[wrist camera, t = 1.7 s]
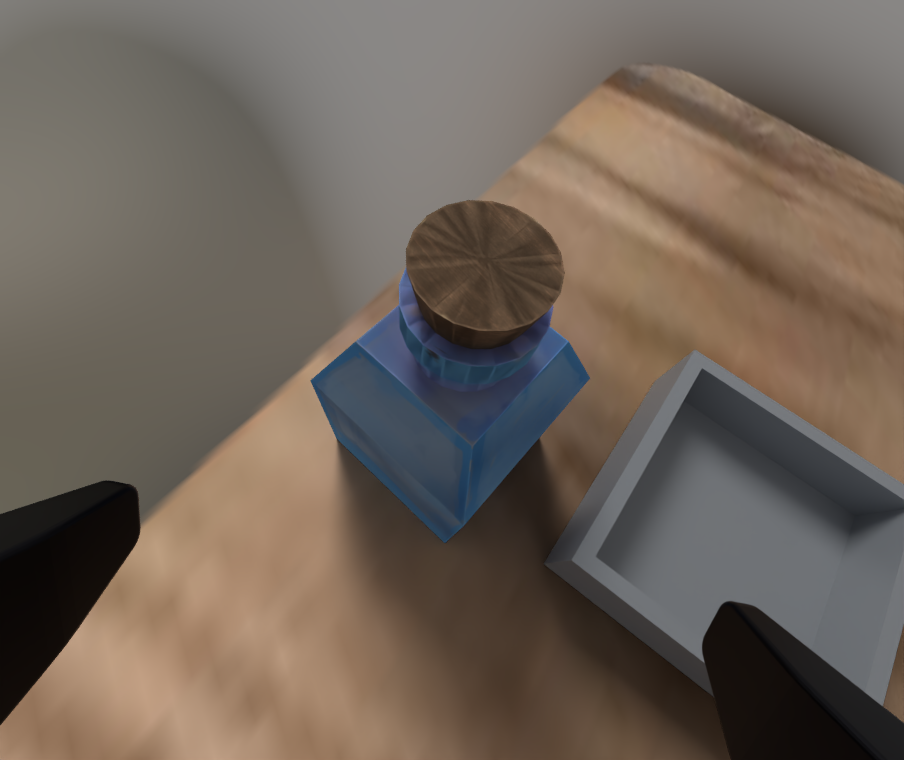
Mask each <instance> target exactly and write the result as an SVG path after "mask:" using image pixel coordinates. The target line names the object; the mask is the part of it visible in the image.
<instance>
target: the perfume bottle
mask: <svg viewBox="0 0 904 760" xmlns="http://www.w3.org/2000/svg"><path fill="white" fill-rule="evenodd" d="M564 274H565V272H564V267H563V261H562V256H561V252H560V250H559V248H558V247H557V245H556V243H555V241H554V240H553V238H552V236H551V234H550V233H549V232H548V231H547V230H546V229H544V228H543V227H542V226H541V225H540V224H539V223H538V222H537V221H536V220H535V219H534V218H532V217H530V216H529V215H527V214H525V213H523V212H521V211H520V210H518V209H516V208H514V207H511V206H507V205H504V204H500V203H496V202H493V201H474V200H471V201H470V200H467V201H463V202H459V203H454V204H449V205H446V206H444V207H442V208H440V209H438V210H437V211H435V212H433V213H431V214H429V215H427V216H426V218H425V219H424V220H423V221H422V222H421V223H420V224H419V225H418V226H417V227H416V228H415V230H414V231H413V233H412V236H411V238H410V241H409V243H408V246H407V248H406V268H405V271H404V274H403V276H402V279H401V281H400V284H399V305H398V306H397V307H396V308H395V309H394V310H392V311H391V312H390V313H389V314H388V315H386V316H385V317H384V318H383V319H382V320H381V321H379V322H378V323H377V324H376V325H375V326H373V327H372V328H371V329H370V330H369V331H367V332H366V333H365V334H364V335H363V336H362V337H360V338H359V339H358V340H357V341H356V342H354V343H353V344H352V345H351V346H350V347H349V348H348V349H346V350H345V351H344V352H343V353H342V354H341V355H339V356H338V357H337V358H336V359H335V360H334V361H332V362H331V363H330V364H329V365H328V366H327V367H326V368H324V369H323V370H322V371H321V372H320V373H319V374H317V375H316V376H315V377H314V378H313V379H312V380H311V383H312V385H313V387H314V389H315V392H316V394H317V396H318V398H319V401H320V403H321V405H322V407H323V409H324V412H325V414H326V416H327V418H328V420H329V423H330V425H331V427H332V429H333V432H334V434H335V436H336V438H337V439H338V440H339V441H340V442H341V443H342V444H343V445H344V446H345V447H346V448H347V449H348V450H349V451H350V452H351V453H352V454H353V455H354V456H355V457H356V458H357V459H358V460H359V461H360V462H361V463H362V464H363V465H364V466H365V467H367V468H368V469H369V470H370V471H371V472H372V473H373V474H374V475H375V476H376V477H377V478H378V479H379V480H380V481H381V482H382V483H383V484H384V485H385V486H386V487H387V488H388V489H389V490H390V491H391V492H392V493H393V494H394V495H395V496H396V497H397V498H399V499H400V500H401V501H402V502H403V503H404V504H405V505H406V506H407V507H408V508H409V509H410V510H411V511H412V512H413V513H414V514H415V515H416V516H417V517H418V518H419V519H420V520H421V521H422V522H423V523H424V524H425V525H426V526H427V527H428V528H430V529H431V530H432V531H433V532H434V533H435V534H436V535H437V536H438V537H439V538H440V539H441V540H442V541H443V542H444V543H446V542H447V541H448V540H449V539H450V538H451V537H452V536H453V535H454V534H455V533H457V532H458V531H459V530H460V529H461V528H462V527H463V526H464V525H465V524H466V523H467V522H468V520H469V519H470V518H471V517H472V516H473V515H474V513H475V512H476V511H477V510H478V509H479V508H480V506H481V505H482V504H483V503H484V502H485V501H486V499H487V498H488V497H489V496H490V495H491V493H492V492H493V491H494V490H495V489H496V488H497V486H498V485H499V484H500V483H501V482H502V481H503V479H504V478H505V477H506V476H507V475H508V474H509V472H510V471H511V470H512V469H513V468H514V467H515V465H516V464H517V463H518V462H519V461H520V460H521V458H522V457H523V456H524V455H525V454H526V453H527V451H528V450H529V449H530V448H531V447H532V446H533V444H534V443H535V442H536V441H537V440H538V439H539V437H540V436H541V435H542V434H543V433H544V432H545V430H546V429H547V428H548V427H549V426H550V425H551V423H552V422H553V421H554V420H555V419H556V417H557V416H558V415H559V414H560V413H561V412H562V410H563V409H564V408H565V407H566V406H567V405H568V403H569V402H570V401H571V400H572V399H573V398H574V396H575V395H576V394H577V393H578V392H579V391H580V389H581V388H582V387H583V386H584V385H585V384H586V382H587V381H588V380H589V379H590V377H589V375H588V374H587V372H586V370H585V369H584V367H583V365H582V363H581V362H580V360H579V358H578V357H577V355H576V353H575V351H574V350H573V348H572V346H571V345H570V343H569V341H567V340H566V339H565V338H564V337H562V336H561V335H560V334H559V333H557V332H556V331H555V330H553V329H552V328H551V327H550V321H551V316H552V311H553V304H554V302H555V301H556V299H557V298H558V296H559V295H560V293H561V289H562V284H563V279H564Z"/></svg>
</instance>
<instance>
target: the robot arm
mask: <svg viewBox="0 0 904 760" xmlns="http://www.w3.org/2000/svg"><path fill="white" fill-rule="evenodd" d="M139 535H140V514H139V497H138V491H137V489H136V488H135V487H134V486H132V485H130V484H125V483H120V482H115V481H101V482H98V483H95V484H91V485H88V486H85V487H82V488H79V489H76V490H73V491H70V492H67V493H64V494H61V495H58V496H55V497H52V498H49V499H46V500H43V501H39V502H36V503H33V504H30V505H27V506H24V507H21V508H18V509H15V510H12V511H9V512H6V513H3V514H0V725H1V724H2V723H3V722H4V720H5V719H6V718H7V717H8V716H9V714H10V713H11V712H12V711H13V709H14V708H15V707H16V706H17V705H18V703H19V702H20V701H21V700H22V699H23V697H24V696H25V695H26V694H27V693H28V691H29V690H30V689H31V688H32V686H33V685H34V684H35V683H36V682H37V680H38V679H39V678H40V677H41V676H42V674H43V673H44V672H45V671H46V670H47V668H48V667H49V666H50V665H51V663H52V662H53V661H54V660H55V658H56V657H57V656H58V655H59V653H60V652H61V651H62V650H63V648H64V647H65V646H66V644H67V643H68V642H69V640H70V639H71V638H72V636H73V635H74V633H75V632H76V631H77V629H78V628H79V627H80V625H81V624H82V622H83V621H84V619H85V618H86V616H87V615H88V613H89V612H90V611H91V609H92V608H93V606H94V605H95V603H96V602H97V600H98V599H99V597H100V596H101V595H102V593H103V592H104V590H105V589H106V587H107V586H108V584H109V583H110V581H111V580H112V579H113V577H114V576H115V574H116V573H117V571H118V570H119V568H120V567H121V566H122V564H123V563H124V561H125V560H126V558H127V557H128V555H129V554H130V552H131V551H132V550H133V548H134V546H135V545H136V543H137V541H138V538H139ZM702 654H703V658H704V662H705V666H706V670H707V673H708V677H709V681H710V684H711V688H712V692H713V696H714V699H715V703H716V707H717V711H718V714H719V718H720V722H721V725H722V729H723V733H724V737H725V740H726V744H727V748H728V751H729V755H730V758H731V760H904V723H903V722H902V721H901V720H899V719H898V718H897V717H896V716H894V715H893V714H892V713H891V712H889V711H888V710H887V709H885V708H884V707H883V706H882V705H880V704H879V703H878V702H877V701H875V700H874V699H873V698H872V697H870V696H869V695H868V694H866V693H865V692H864V691H863V690H861V689H860V688H859V687H858V686H856V685H855V684H854V683H853V682H851V681H850V680H849V679H847V678H846V677H845V676H844V675H842V674H841V673H840V672H839V671H837V670H836V669H835V668H834V667H832V666H831V665H830V664H828V663H827V662H826V661H825V660H823V659H822V658H821V657H820V656H818V655H817V654H816V653H815V652H813V651H812V650H811V649H809V648H808V647H807V646H806V645H804V644H803V643H802V642H801V641H799V640H798V639H797V638H796V637H794V636H793V635H792V634H790V633H789V632H788V631H787V630H785V629H784V628H783V627H782V626H780V625H779V624H778V623H777V622H775V621H774V620H773V619H771V618H770V617H769V616H768V615H766V614H765V613H764V612H763V611H761V610H760V609H759V608H757V607H755V606H753V605H750V604H745V603H740V602H735V601H726V602H724V603H723V604H721V606H720V607H719V609H718V611H717V613H716V615H715V616H714V618H713V620H712V622H711V624H710V626H709V628H708V629H707V631H706V633H705V635H704V637H703V641H702Z"/></svg>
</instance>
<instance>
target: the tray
mask: <svg viewBox="0 0 904 760" xmlns="http://www.w3.org/2000/svg"><path fill="white" fill-rule="evenodd" d="M544 565H546V566H547V567H548V568H549V569H551V570H552V571H553V572H554V573H556V574H557V575H558V576H560V577H561V578H562V579H563V580H565V581H566V582H567V583H569V584H570V585H571V586H572V587H574V588H575V589H576V590H577V591H579V592H580V593H581V594H583V595H584V596H585V597H586V598H588V599H589V600H590V601H591V602H593V603H594V604H595V605H597V606H598V607H599V608H600V609H602V610H603V611H604V612H606V613H607V614H608V615H609V616H611V617H612V618H613V619H614V620H616V621H617V622H618V623H620V624H621V625H622V626H623V627H625V628H626V629H627V630H629V631H630V632H631V633H632V634H634V635H635V636H636V637H637V638H639V639H640V640H641V641H643V642H644V643H645V644H646V645H648V646H649V647H650V648H652V649H653V650H654V651H655V652H657V653H658V654H659V655H660V656H662V657H663V658H664V659H666V660H667V661H668V662H669V663H671V664H672V665H673V666H675V667H676V668H677V669H678V670H680V671H681V672H682V673H683V674H685V675H686V676H687V677H689V678H690V679H691V680H692V681H694V682H695V683H696V684H698V685H699V686H700V687H701V688H703V689H704V690H705V691H706V692H708V693H709V694H710V695H712V696H713V692H712V688H711V684H710V681H709V677H708V673H707V670H706V666H705V662H704V658H703V654H702V641H703V637H704V635H705V633H706V631H707V629H708V628H709V626H710V624H711V622H712V620H713V618H714V616H715V615H716V613H717V611H718V609H719V607H720V606H721V604H723V603H724V602H726V601H735V602H740V603H745V604H750V605H753V606H755V607H757V608H759V609H760V610H761V611H763V612H764V613H765V614H766V615H768V616H769V617H770V618H771V619H773V620H774V621H775V622H777V623H778V624H779V625H780V626H782V627H783V628H784V629H785V630H787V631H788V632H789V633H790V634H792V635H793V636H794V637H796V638H797V639H798V640H799V641H801V642H802V643H803V644H804V645H806V646H807V647H808V648H809V649H811V650H812V651H813V652H815V653H816V654H817V655H818V656H820V657H821V658H822V659H823V660H825V661H826V662H827V663H828V664H830V665H831V666H832V667H834V668H835V669H836V670H837V671H839V672H840V673H841V674H842V675H844V676H845V677H846V678H847V679H849V680H850V681H851V682H853V683H854V684H855V685H856V686H858V687H859V688H860V689H861V690H863V691H864V692H865V693H866V694H868V695H869V696H870V697H872V698H873V699H874V700H875V701H877V702H878V703H879V704H880V705H882V706H883V703H884V699H885V695H886V692H887V688H888V684H889V680H890V676H891V672H892V668H893V664H894V660H895V656H896V652H897V648H898V644H899V641H900V637H901V633H902V629H903V625H904V484H902V483H901V482H899V481H898V480H896V479H895V478H893V477H891V476H890V475H888V474H887V473H885V472H884V471H882V470H881V469H879V468H877V467H876V466H874V465H873V464H871V463H870V462H868V461H867V460H865V459H864V458H862V457H860V456H859V455H857V454H856V453H854V452H853V451H851V450H850V449H848V448H847V447H845V446H843V445H842V444H840V443H839V442H837V441H836V440H834V439H833V438H831V437H830V436H828V435H826V434H825V433H823V432H822V431H820V430H819V429H817V428H816V427H814V426H812V425H811V424H809V423H808V422H806V421H805V420H803V419H802V418H800V417H799V416H797V415H795V414H794V413H792V412H791V411H789V410H788V409H786V408H785V407H783V406H782V405H780V404H778V403H777V402H775V401H774V400H772V399H771V398H769V397H768V396H766V395H765V394H763V393H761V392H760V391H758V390H757V389H755V388H754V387H752V386H751V385H749V384H747V383H746V382H744V381H743V380H741V379H740V378H738V377H737V376H735V375H734V374H732V373H730V372H729V371H727V370H726V369H724V368H723V367H721V366H720V365H718V364H717V363H715V362H713V361H712V360H710V359H709V358H707V357H706V356H704V355H703V354H701V353H700V352H698V351H696V350H694V351H692V352H691V353H690V354H689V355H687V356H686V357H685V358H684V359H682V360H681V361H680V362H679V363H677V364H676V365H675V366H673V367H672V368H671V369H670V370H668V371H667V372H666V373H665V374H663V375H662V376H661V377H660V378H658V379H657V380H656V381H655V382H654V384H653V385H652V387H651V389H650V390H649V392H648V393H647V395H646V397H645V398H644V400H643V402H642V403H641V405H640V407H639V408H638V410H637V412H636V413H635V415H634V416H633V418H632V420H631V421H630V423H629V425H628V426H627V428H626V430H625V431H624V433H623V434H622V436H621V438H620V439H619V441H618V443H617V444H616V446H615V448H614V449H613V451H612V452H611V454H610V456H609V457H608V459H607V461H606V462H605V464H604V466H603V467H602V469H601V471H600V472H599V474H598V475H597V477H596V479H595V480H594V482H593V484H592V485H591V487H590V489H589V490H588V492H587V493H586V495H585V497H584V498H583V500H582V502H581V503H580V505H579V507H578V508H577V510H576V511H575V513H574V515H573V516H572V518H571V520H570V521H569V523H568V525H567V526H566V528H565V530H564V531H563V533H562V534H561V536H560V538H559V539H558V541H557V543H556V544H555V546H554V548H553V549H552V551H551V552H550V554H549V556H548V557H547V559H546V561H545V562H544ZM713 697H714V696H713Z"/></svg>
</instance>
